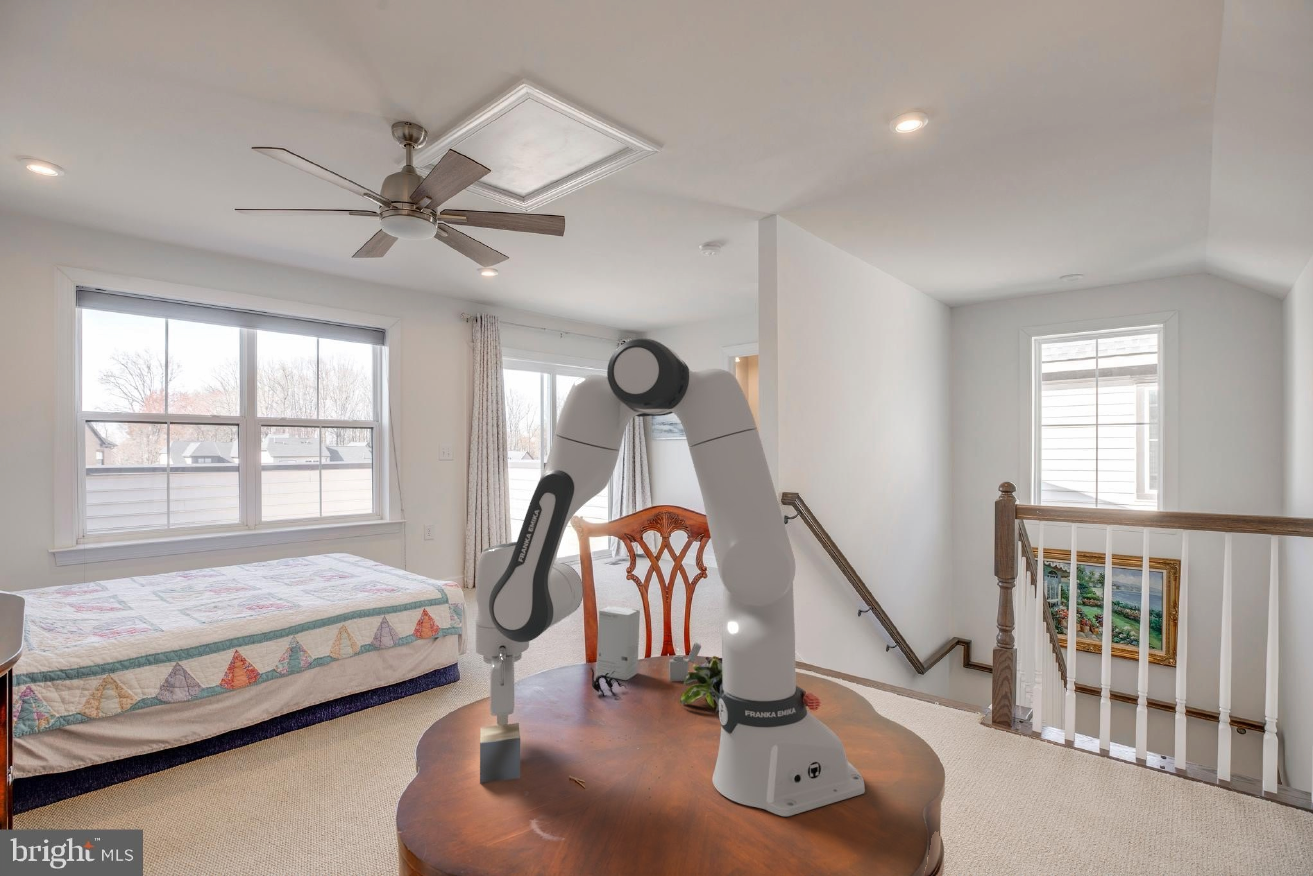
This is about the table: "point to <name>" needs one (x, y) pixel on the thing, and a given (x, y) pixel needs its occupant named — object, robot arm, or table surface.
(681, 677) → the lighter
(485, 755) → the maple cube
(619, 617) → the skincare box
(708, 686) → the green leafy plant
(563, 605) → the robot arm
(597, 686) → the creature
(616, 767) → the table surface
